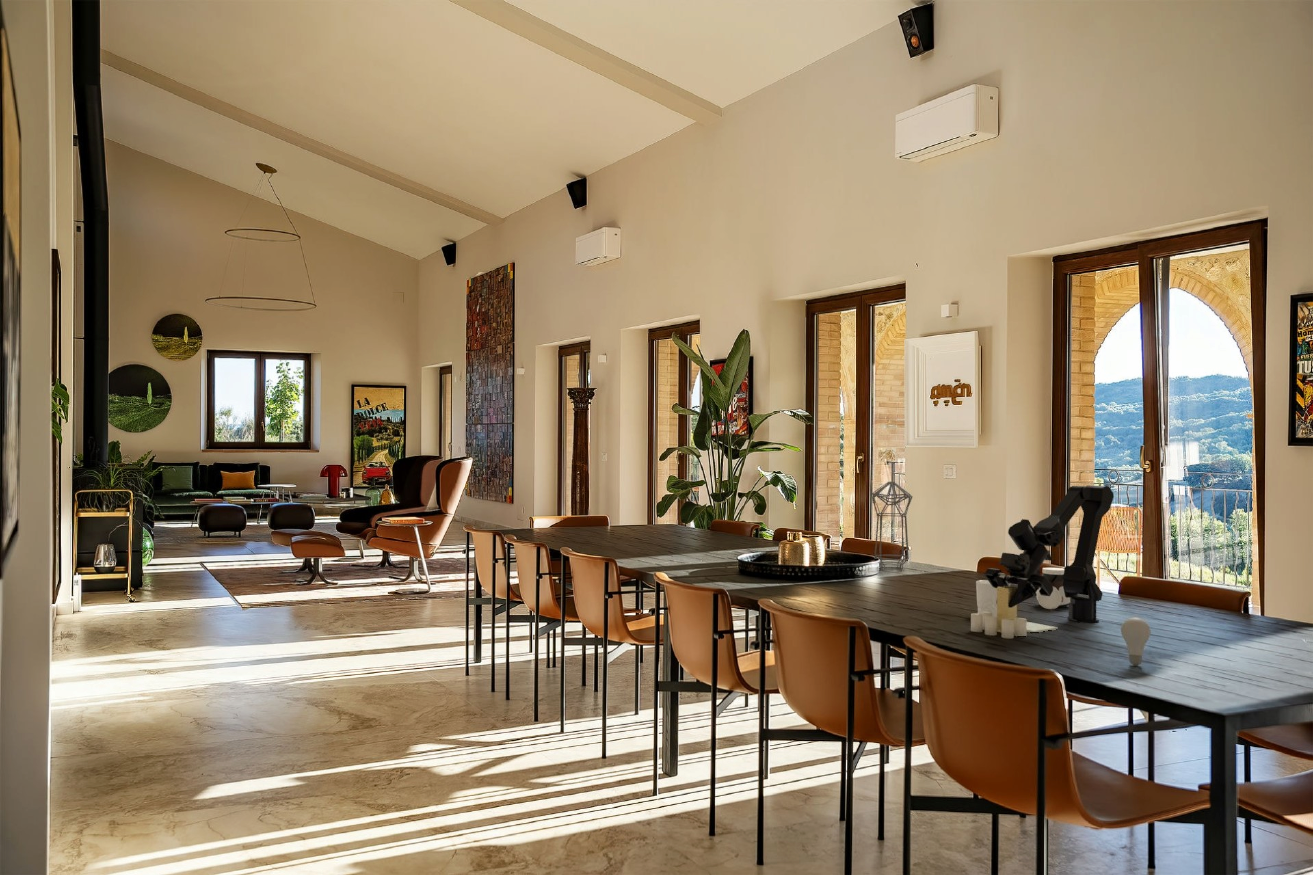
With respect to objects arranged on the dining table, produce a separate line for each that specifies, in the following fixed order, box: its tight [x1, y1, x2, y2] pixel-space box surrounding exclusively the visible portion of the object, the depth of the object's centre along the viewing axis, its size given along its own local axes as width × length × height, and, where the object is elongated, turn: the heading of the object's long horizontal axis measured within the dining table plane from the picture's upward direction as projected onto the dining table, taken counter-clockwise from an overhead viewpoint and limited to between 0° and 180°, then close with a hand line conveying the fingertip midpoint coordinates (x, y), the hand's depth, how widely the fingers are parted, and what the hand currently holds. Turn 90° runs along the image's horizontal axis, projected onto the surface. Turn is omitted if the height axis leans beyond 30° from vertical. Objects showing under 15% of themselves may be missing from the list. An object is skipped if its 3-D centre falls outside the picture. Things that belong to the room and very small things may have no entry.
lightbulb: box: [1120, 617, 1151, 667], centre depth 230 cm, size 6×6×11 cm
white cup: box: [975, 579, 997, 617], centre depth 294 cm, size 8×8×10 cm
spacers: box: [970, 612, 1028, 639], centre depth 268 cm, size 8×14×4 cm, turn 32°
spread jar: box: [1036, 567, 1070, 610], centre depth 311 cm, size 12×11×12 cm
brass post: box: [997, 585, 1018, 633], centre depth 270 cm, size 4×4×12 cm
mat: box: [1027, 621, 1058, 633], centre depth 275 cm, size 10×10×1 cm
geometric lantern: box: [870, 480, 913, 571], centre depth 400 cm, size 16×16×35 cm
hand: (1003, 605), depth 269 cm, fingers closed on brass post, 4 cm apart
